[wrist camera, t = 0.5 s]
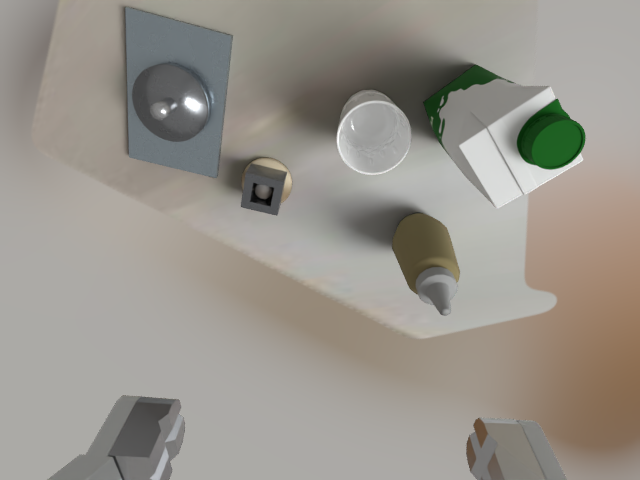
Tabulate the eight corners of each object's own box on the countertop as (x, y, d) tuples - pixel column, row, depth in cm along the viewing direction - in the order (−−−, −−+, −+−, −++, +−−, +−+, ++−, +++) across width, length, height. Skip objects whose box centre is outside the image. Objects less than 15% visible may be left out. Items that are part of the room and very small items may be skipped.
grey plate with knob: (128, 7, 43) (98, 6, 38) (232, 35, 44) (218, 39, 39) (131, 155, 52) (107, 171, 47) (217, 175, 53) (204, 194, 48)
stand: (246, 151, 51) (240, 160, 48) (296, 164, 52) (294, 173, 49) (239, 197, 55) (234, 208, 52) (287, 208, 56) (284, 219, 53)
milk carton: (511, 113, 47) (608, 171, 30) (445, 155, 51) (500, 229, 33) (479, 51, 44) (568, 78, 27) (411, 101, 47) (453, 152, 30)
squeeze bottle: (396, 201, 54) (418, 277, 39) (451, 209, 55) (495, 287, 39) (383, 248, 59) (399, 333, 43) (434, 255, 59) (469, 342, 43)
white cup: (337, 148, 51) (337, 176, 42) (335, 85, 47) (335, 102, 38) (397, 145, 50) (409, 173, 42) (400, 82, 46) (414, 98, 38)
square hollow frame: (251, 163, 51) (245, 172, 48) (287, 172, 52) (284, 182, 49) (246, 195, 54) (240, 206, 51) (280, 203, 54) (277, 215, 51)
